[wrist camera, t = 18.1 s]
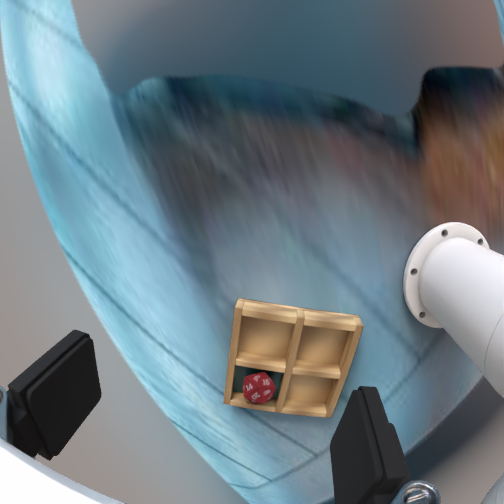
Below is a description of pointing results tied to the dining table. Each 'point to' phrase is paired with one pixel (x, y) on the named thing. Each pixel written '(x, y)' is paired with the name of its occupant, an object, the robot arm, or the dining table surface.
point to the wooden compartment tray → (291, 356)
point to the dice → (258, 388)
